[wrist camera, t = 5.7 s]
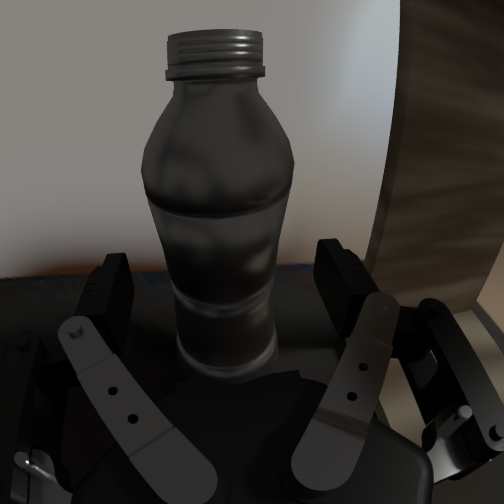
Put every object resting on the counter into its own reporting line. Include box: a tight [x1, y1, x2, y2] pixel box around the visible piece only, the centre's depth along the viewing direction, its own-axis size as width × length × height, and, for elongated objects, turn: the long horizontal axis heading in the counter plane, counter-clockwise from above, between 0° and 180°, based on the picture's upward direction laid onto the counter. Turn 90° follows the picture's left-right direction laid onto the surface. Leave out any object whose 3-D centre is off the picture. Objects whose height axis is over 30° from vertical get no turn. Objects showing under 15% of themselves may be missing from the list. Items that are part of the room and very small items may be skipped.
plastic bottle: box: [141, 29, 294, 384], centre depth 15 cm, size 6×7×20 cm
